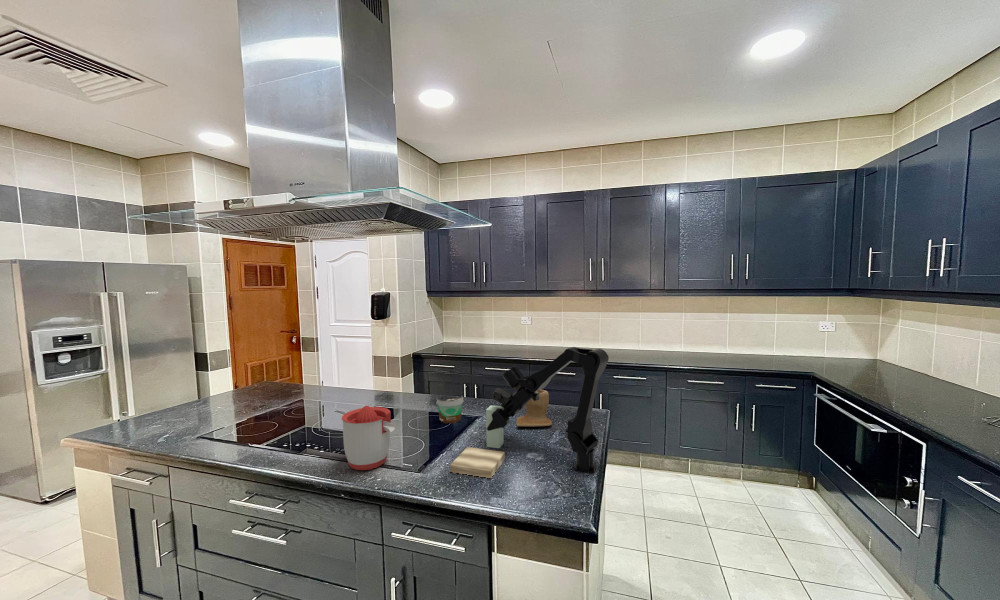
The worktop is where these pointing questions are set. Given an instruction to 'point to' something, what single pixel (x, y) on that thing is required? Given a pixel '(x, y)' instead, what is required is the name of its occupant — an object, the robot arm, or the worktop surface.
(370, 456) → the citrus juicer
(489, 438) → the sage block
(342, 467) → the worktop surface
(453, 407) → the food container
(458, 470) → the birch base
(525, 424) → the stone cup
